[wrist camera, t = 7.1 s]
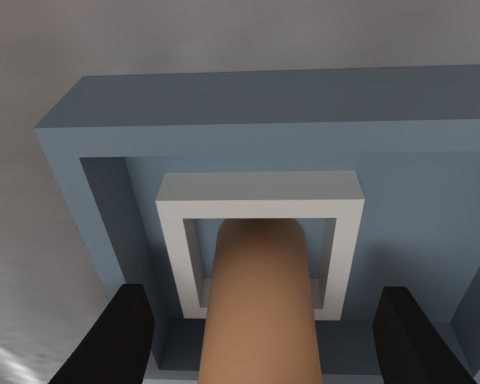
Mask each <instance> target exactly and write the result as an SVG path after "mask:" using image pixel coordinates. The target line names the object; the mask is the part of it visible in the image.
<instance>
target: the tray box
mask: <svg viewBox="0 0 480 384" xmlns="http://www.w3.org/2000/svg"><path fill="white" fill-rule="evenodd" d="M33 129H34V131H35V134H36V136H37V138H38V140H39V143H40V145H41V147H42V150H43V152H44V154H45V156H46V159H47V161H48V163H49V165H50V168H51V170H52V172H53V174H54V177H55V179H56V181H57V183H58V186H59V188H60V190H61V193H62V195H63V197H64V199H65V202H66V204H67V206H68V208H69V211H70V213H71V215H72V217H73V220H74V222H75V224H76V226H77V229H78V231H79V233H80V236H81V238H82V240H83V242H84V245H85V247H86V249H87V251H88V254H89V256H90V258H91V260H92V263H93V265H94V267H95V269H96V272H97V274H98V276H99V279H100V281H101V283H102V285H103V288H104V290H105V292H106V294H107V297H108V299H109V301H111V300H112V298H113V297H114V295H115V294H116V292H117V291H118V289H119V288H120V286H121V285H122V284H143V286H144V289H145V292H146V295H147V298H148V301H149V304H150V307H151V310H152V313H153V316H154V319H155V328H154V334H153V340H152V346H151V352H150V357H149V360H148V364H147V368H146V371H145V375H144V379H171V380H198V377H199V369H200V362H201V354H202V347H203V339H204V331H205V324H206V316H207V309H208V301H209V293H210V286H211V278H212V271H213V263H214V255H215V248H216V240H217V233H218V230H219V227H220V225H221V224H222V222H223V221H224V220H225V219H226V218H295V219H296V220H297V221H298V222H299V224H300V225H301V226H302V228H303V231H304V235H305V243H306V252H307V260H308V268H309V276H310V285H311V293H312V301H313V310H314V318H315V326H316V334H317V343H318V351H319V359H320V367H321V376H322V383H327V384H384V381H383V378H382V374H381V370H380V367H379V363H378V359H377V353H376V348H375V342H374V335H373V329H372V324H373V321H374V317H375V314H376V311H377V307H378V304H379V301H380V297H381V294H382V291H383V287H384V286H405V287H406V288H407V289H408V290H409V291H410V293H411V294H412V296H413V297H414V299H415V300H416V302H417V303H418V305H419V306H420V308H421V309H422V311H423V312H424V313H425V315H426V316H427V318H428V319H429V321H430V322H431V323H432V325H433V326H434V328H435V329H436V330H437V332H438V333H439V335H440V336H441V337H442V339H443V340H444V341H445V343H446V344H447V345H448V347H449V348H450V349H451V351H452V352H453V353H454V355H455V356H456V357H457V358H458V360H459V361H460V362H461V364H462V365H463V366H464V368H465V369H466V370H467V371H468V373H469V374H470V375H471V376H472V377H473V379H474V380H475V381H476V382H477V384H480V65H455V66H422V67H388V68H355V69H321V70H288V71H254V72H221V73H187V74H154V75H120V76H87V77H82V78H81V79H80V80H79V81H78V82H77V83H76V84H75V85H74V86H73V87H72V88H71V89H70V90H69V91H68V92H67V93H66V94H65V96H64V97H63V98H62V99H61V100H60V101H59V102H58V103H57V104H56V105H55V106H54V107H53V108H52V109H51V110H50V111H49V112H48V113H47V114H46V115H45V116H44V117H43V118H42V120H41V121H40V122H39V123H38V124H37V125H36V126H35V127H34V128H33Z"/></svg>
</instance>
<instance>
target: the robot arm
mask: <svg viewBox="0 0 480 384" xmlns="http://www.w3.org/2000/svg"><path fill="white" fill-rule="evenodd" d="M154 328H155V319H154V316H153V313H152V310H151V307H150V304H149V301H148V298H147V295H146V292H145V289H144V286H143V284H122V285H121V286H120V288H119V289H118V291H117V292H116V294H115V295H114V297H113V298H112V300H111V301H110V303H109V304H108V305H107V307H106V308H105V310H104V311H103V313H102V314H101V315H100V317H99V318H98V320H97V321H96V322H95V324H94V325H93V327H92V328H91V329H90V331H89V332H88V333H87V335H86V336H85V337H84V339H83V340H82V341H81V343H80V344H79V345H78V347H77V348H76V349H75V351H74V352H73V353H72V354H71V356H70V357H69V358H68V359H67V361H66V362H65V363H64V364H63V366H62V367H61V368H60V369H59V370H58V372H57V373H56V374H55V375H54V377H53V378H52V379H51V380H50V382H49V383H48V384H142V382H143V378H144V375H145V371H146V368H147V364H148V360H149V357H150V352H151V346H152V340H153V334H154ZM372 329H373V335H374V342H375V348H376V353H377V359H378V363H379V367H380V370H381V374H382V378H383V381H384V384H477V382H476V381H475V380H474V379H473V377H472V376H471V375H470V374H469V373H468V371H467V370H466V369H465V368H464V366H463V365H462V364H461V362H460V361H459V360H458V358H457V357H456V356H455V355H454V353H453V352H452V351H451V349H450V348H449V347H448V345H447V344H446V343H445V341H444V340H443V339H442V337H441V336H440V335H439V333H438V332H437V330H436V329H435V328H434V326H433V325H432V323H431V322H430V321H429V319H428V318H427V316H426V315H425V313H424V312H423V311H422V309H421V308H420V306H419V305H418V303H417V302H416V300H415V299H414V297H413V296H412V294H411V293H410V291H409V290H408V289H407V288H406V287H405V286H384V287H383V291H382V294H381V297H380V301H379V304H378V307H377V311H376V314H375V317H374V321H373V324H372Z"/></svg>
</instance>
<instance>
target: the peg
mask: <svg viewBox="0 0 480 384" xmlns="http://www.w3.org/2000/svg"><path fill="white" fill-rule="evenodd" d="M198 384H322V376H321V367H320V359H319V351H318V343H317V334H316V326H315V318H314V310H313V301H312V293H311V285H310V276H309V268H308V260H307V252H306V243H305V235H304V231H303V228H302V226H301V225H300V224H299V222H298V221H297V220H296V219H295V218H226V219H225V220H224V221H223V222H222V224H221V225H220V227H219V230H218V233H217V240H216V248H215V255H214V263H213V271H212V278H211V286H210V293H209V301H208V309H207V316H206V324H205V331H204V339H203V347H202V354H201V362H200V369H199V377H198Z"/></svg>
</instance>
